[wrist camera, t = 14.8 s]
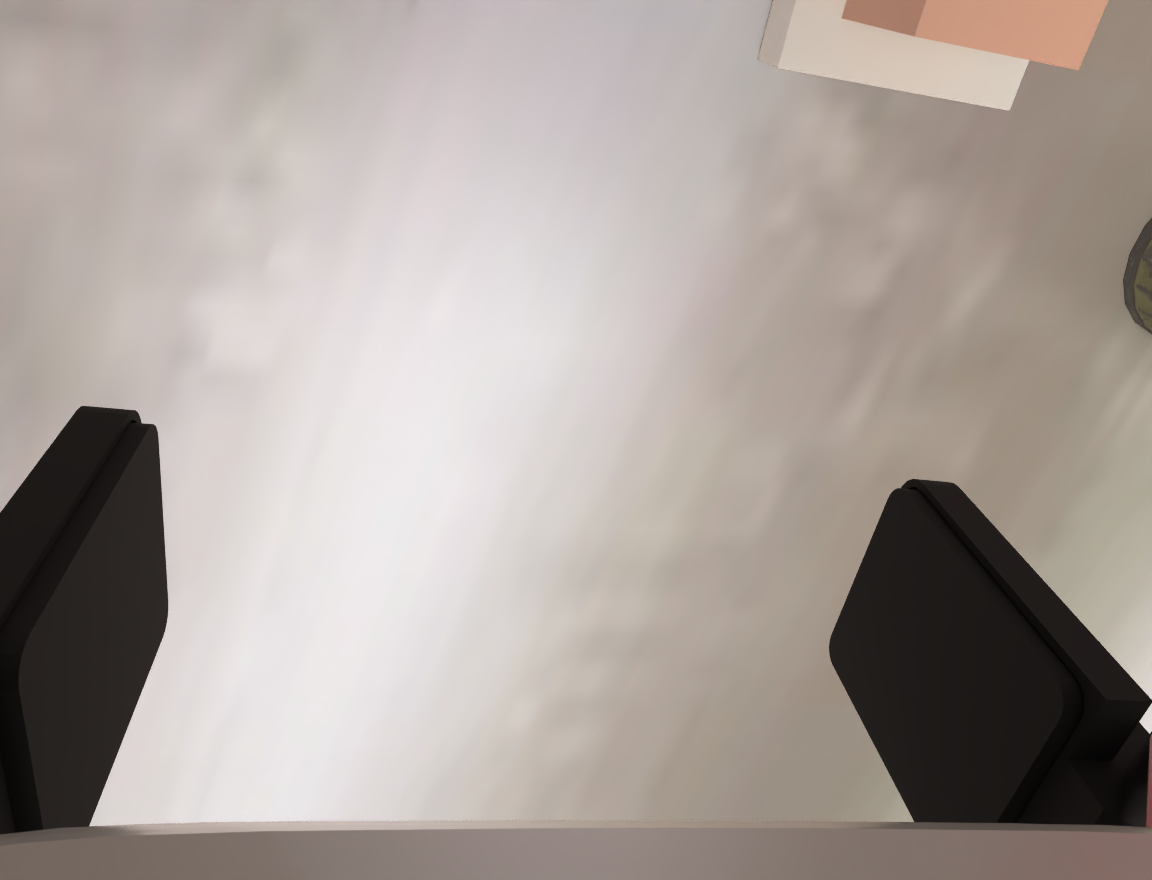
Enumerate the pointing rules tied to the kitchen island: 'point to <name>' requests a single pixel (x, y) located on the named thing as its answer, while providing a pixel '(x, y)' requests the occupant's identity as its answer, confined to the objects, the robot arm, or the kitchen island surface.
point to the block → (884, 56)
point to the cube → (992, 25)
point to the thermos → (1140, 280)
